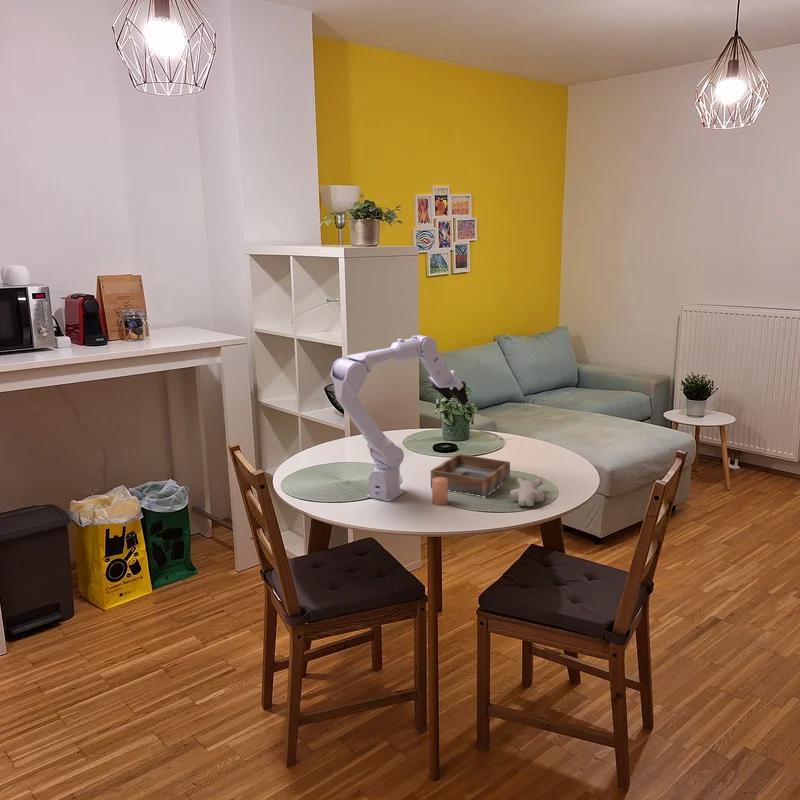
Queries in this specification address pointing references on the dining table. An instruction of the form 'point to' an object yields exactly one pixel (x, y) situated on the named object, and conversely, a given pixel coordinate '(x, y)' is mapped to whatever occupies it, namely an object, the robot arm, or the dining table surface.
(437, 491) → the peg
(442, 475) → the tray
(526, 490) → the white soft plush figure
